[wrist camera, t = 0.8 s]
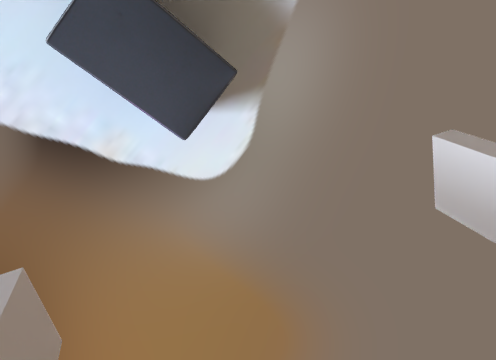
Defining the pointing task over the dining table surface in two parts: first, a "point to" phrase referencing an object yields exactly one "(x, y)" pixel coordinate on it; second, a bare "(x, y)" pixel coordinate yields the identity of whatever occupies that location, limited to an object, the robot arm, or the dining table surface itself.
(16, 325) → the robot arm
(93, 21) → the small box
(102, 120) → the dining table surface
